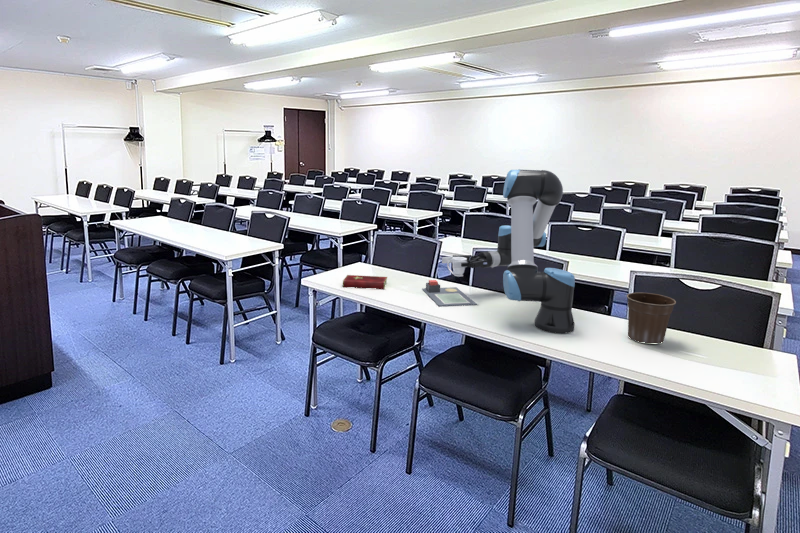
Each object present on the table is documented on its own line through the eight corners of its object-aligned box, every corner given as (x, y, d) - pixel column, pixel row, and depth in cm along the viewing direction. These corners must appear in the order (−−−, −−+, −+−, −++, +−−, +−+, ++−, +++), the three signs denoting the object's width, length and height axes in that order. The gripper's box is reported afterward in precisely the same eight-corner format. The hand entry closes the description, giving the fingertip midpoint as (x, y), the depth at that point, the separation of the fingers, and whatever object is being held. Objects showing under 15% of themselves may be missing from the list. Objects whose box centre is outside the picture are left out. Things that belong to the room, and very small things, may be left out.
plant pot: (625, 344, 175) (631, 301, 171) (617, 329, 190) (623, 290, 186) (674, 349, 171) (681, 306, 167) (663, 334, 186) (669, 294, 182)
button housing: (439, 292, 233) (440, 285, 232) (428, 292, 232) (429, 285, 231) (436, 289, 238) (436, 282, 237) (425, 289, 237) (426, 282, 236)
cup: (460, 278, 215) (461, 260, 213) (442, 274, 222) (443, 257, 220) (469, 275, 220) (470, 258, 218) (451, 271, 227) (452, 255, 225)
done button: (437, 287, 233) (437, 281, 232) (430, 288, 232) (430, 282, 232) (435, 285, 236) (435, 280, 236) (428, 286, 236) (428, 280, 235)
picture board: (476, 305, 216) (477, 303, 216) (438, 306, 212) (438, 304, 212) (456, 288, 243) (456, 286, 243) (422, 289, 239) (422, 288, 239)
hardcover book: (384, 290, 237) (384, 282, 236) (342, 288, 239) (342, 280, 238) (387, 284, 249) (387, 276, 248) (347, 282, 250) (347, 274, 250)
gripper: (502, 272, 219) (461, 276, 209) (474, 262, 238) (435, 265, 228) (503, 256, 217) (462, 259, 207) (475, 247, 236) (436, 250, 226)
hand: (448, 262), depth 218 cm, fingers closed on cup, 9 cm apart
